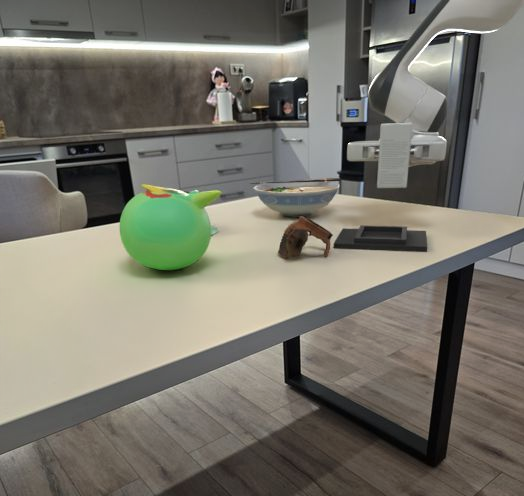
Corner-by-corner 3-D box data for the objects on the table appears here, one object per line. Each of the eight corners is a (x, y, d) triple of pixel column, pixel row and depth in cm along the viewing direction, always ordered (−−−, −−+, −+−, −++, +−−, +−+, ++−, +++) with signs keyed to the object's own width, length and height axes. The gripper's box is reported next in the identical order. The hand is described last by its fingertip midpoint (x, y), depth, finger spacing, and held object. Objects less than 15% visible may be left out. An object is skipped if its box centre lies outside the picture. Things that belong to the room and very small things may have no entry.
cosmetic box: (406, 185, 101) (412, 122, 95) (406, 188, 97) (413, 123, 92) (376, 185, 102) (380, 123, 97) (376, 188, 98) (380, 124, 93)
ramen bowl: (250, 224, 120) (248, 190, 116) (251, 208, 140) (250, 179, 137) (349, 221, 120) (351, 187, 116) (336, 205, 140) (337, 176, 137)
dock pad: (425, 235, 104) (426, 226, 103) (426, 251, 92) (428, 241, 91) (342, 232, 109) (342, 223, 108) (333, 248, 97) (333, 238, 96)
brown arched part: (281, 250, 98) (301, 213, 96) (320, 274, 97) (341, 237, 94) (263, 249, 87) (285, 208, 85) (306, 276, 86) (330, 235, 83)
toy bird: (118, 261, 93) (105, 182, 86) (201, 250, 99) (195, 174, 92) (136, 288, 78) (122, 194, 72) (233, 272, 84) (228, 185, 78)
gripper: (350, 134, 109) (342, 137, 97) (446, 132, 104) (449, 135, 92) (349, 163, 112) (341, 170, 100) (442, 163, 106) (445, 170, 95)
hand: (394, 153), depth 96 cm, fingers closed on cosmetic box, 6 cm apart
